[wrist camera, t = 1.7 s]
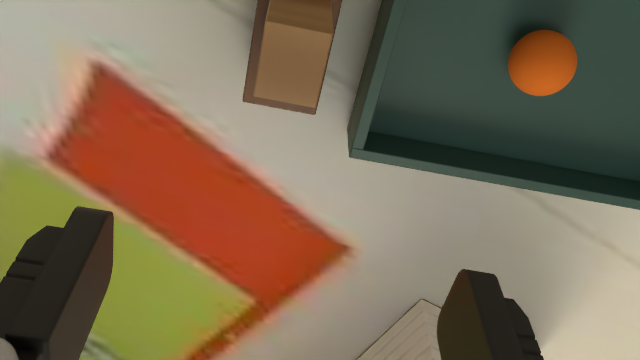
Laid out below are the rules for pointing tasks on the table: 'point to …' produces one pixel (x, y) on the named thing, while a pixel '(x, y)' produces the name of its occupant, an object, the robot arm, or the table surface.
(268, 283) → the table surface
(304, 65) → the brush
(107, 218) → the robot arm
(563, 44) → the ball
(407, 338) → the stack of papers
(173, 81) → the table surface
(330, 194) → the table surface
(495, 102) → the tray
